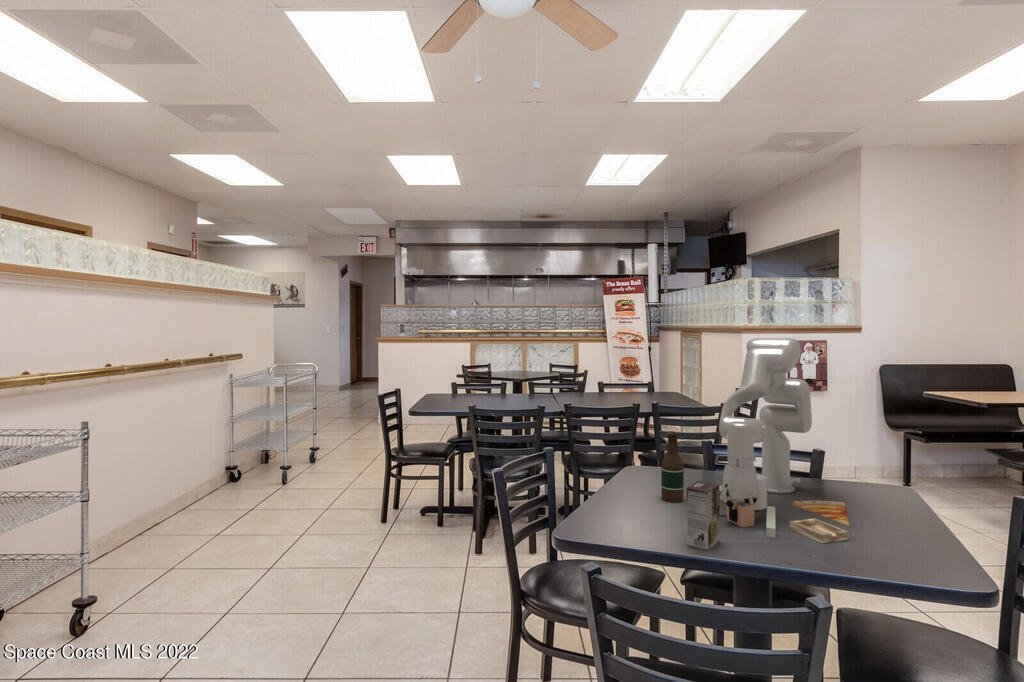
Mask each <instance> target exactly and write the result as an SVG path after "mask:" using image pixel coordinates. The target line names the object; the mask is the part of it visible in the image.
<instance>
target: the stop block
mask: <svg viewBox="0 0 1024 682" xmlns="http://www.w3.org/2000/svg"><path fill="white" fill-rule="evenodd" d="M732 503H733V500H732ZM736 509H737V522H733V521H731V520H730V519H729V507H727V515H726V521H729V522H731V523H732V524H735V525H737V526H739V527H741V528H746V527H753V526H755V510H754V506H753V505H751V504H749V503H746V502H744V501H741V500H737V505H736Z"/></svg>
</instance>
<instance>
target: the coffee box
mask: <svg viewBox="0 0 1024 682" xmlns="http://www.w3.org/2000/svg"><path fill="white" fill-rule="evenodd" d="M719 486H720V484H716V483H710V482H707V481H703V480H702V481H701V480H697V481H696V482H694V483H692V484H691V485H689V486H688V487H686V545H687V546H691V547H694V548H699V549H701V550H706V549H707V550H706V551H710V549H712V548H713V547H714V546H715V545H716V544H718V542H720V540H721V536H720V533H721V531H720V528H721V525H720V524H721V523H720V522H721V521H720V516H721V515H720V510H719V508H720V507H719Z"/></svg>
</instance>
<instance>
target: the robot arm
mask: <svg viewBox="0 0 1024 682" xmlns="http://www.w3.org/2000/svg"><path fill="white" fill-rule="evenodd" d="M801 347H802V346H801V344H800V342H799V341H798V340H797V339H795V338H774V337H773V338H772V337H771V338H768V337H767V338H766V337H764V338H763V337H760V338H759V337H758V338H752V339H750V340H748V341H747V343H746V354H745V359H744V365H743V370H742V375H741V381H740V386H739V388H738V389H736V390H735V391H734V392H733V393H732V394H731V395H729V397H728V398H727V399H726V401H725V402H724V404H723V405H722V408H721V411H720V412H721V413H720V418H719V424H718V431H719V434H720V437H721V438H723V439H725V440H727V464H726V465H725V466H724V470H723V474H722V481H721V482H722V483H721V486H722V494H721V496H720V500H721V501H723V502H724V503H725V504H726V505H727V507H729V519H730V520H731V521H733V522H737V509H736V505H737V500H739V499H744V502H746V503H749V504H751V505H753V506H754V504H755V502H756V501H757V500H758V499H759V498H760V497H761V494H760V492H759V491H758V483H757V474H758V473H757V469H756V466H755V465H754V464H755V463H754V462H756V460H757V458H756V456H754V454H755V453H754V452H755V449H754V447H755V445H754V444H756V443H758V444H759V443H761V475H763V476H766V477H767V493H772V494H792V493H794V492H795V490H796V488H795V486H793V485H794V484H800V483H801V478H800V477H792V476H791V444H790V440H789V438H788V437H787V436H786V434H785V433H784V432H787V433H795V434H796V433H798V434H807V433H808V432H809V431H811V429H812V425H813V417H812V403H811V401H812V400H811V389H810V386H809V384H808V382H807V381H806V380H804V379H801V378H788V377H787V375H786V374H787V373H790V372H791V371H793V368H794V367H795V366H796V365H797V363H798V361H799V360H800V358H801V355H802V354H801V353H802V351H801V350H802V348H801ZM758 399H763V401H764V402H765V403H769V404H767V405H764V406H762V407H761V408H760V410H759V418H749V417H740V416H739V417H738V416H733V414H734V413H735V411H736V410H737V409H738V408H739V407H740V406H742V405H744V404H747V403H750V402H752V401H755V400H758ZM727 496H729V497H728V499H727ZM732 500H733V503H732ZM731 521H730V522H731ZM733 522H732V523H733Z"/></svg>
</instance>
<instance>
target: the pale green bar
mask: <svg viewBox="0 0 1024 682" xmlns="http://www.w3.org/2000/svg"><path fill="white" fill-rule="evenodd" d="M765 524H766V525H765V526H766V528H765V529H766V531H765V537H766V538H769V539H776V538H777V537H776V535H777V533H776V506H773V505H772V506H770V505H767V508H766V523H765Z"/></svg>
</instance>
